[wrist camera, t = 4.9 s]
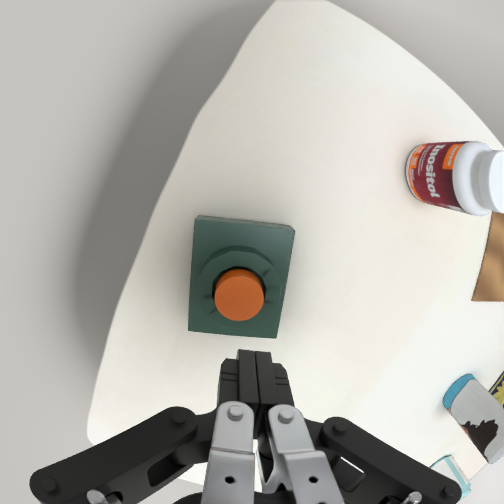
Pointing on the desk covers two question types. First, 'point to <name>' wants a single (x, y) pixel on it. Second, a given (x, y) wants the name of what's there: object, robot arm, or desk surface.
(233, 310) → the button
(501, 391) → the decorative box
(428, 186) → the pill bottle
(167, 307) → the desk surface
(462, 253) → the desk surface
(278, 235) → the green button base
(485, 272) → the shiny brown mat
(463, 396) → the cup
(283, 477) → the robot arm
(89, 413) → the desk surface
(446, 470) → the can
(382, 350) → the desk surface
